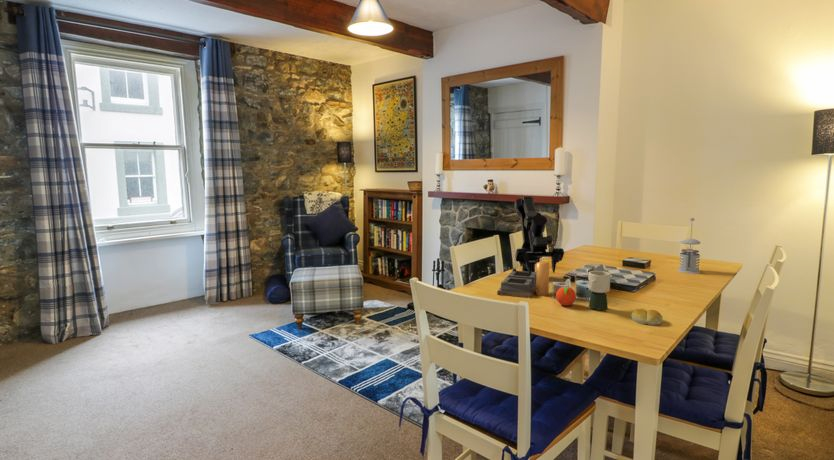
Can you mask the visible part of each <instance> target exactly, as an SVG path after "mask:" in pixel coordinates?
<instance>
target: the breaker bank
mask: <svg viewBox="0 0 834 460" xmlns="http://www.w3.org/2000/svg"><path fill="white" fill-rule="evenodd" d="M499 287H500V288H499V289H498V290H497V293H496V294H497V296H498V295H499V296H507V297H520V298H530V299H531V298H532V296H533V295H534V293H535V292H536V271H535V272H531V273H529V272H528V271H522V270H517V268H512V270H511V271H510V273H509V274H508V275H507V276H506V277H505V278H504V279H501V282H500V286H499Z"/></svg>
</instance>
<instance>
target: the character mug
mask: <svg viewBox="0 0 834 460" xmlns="http://www.w3.org/2000/svg"><path fill="white" fill-rule="evenodd" d="M587 279H588V285H587V288H588V290H589V291H591V293H590V297H589V302H588V303H589V304H588V308H590V309H595V310H596V311H598V310H607V309H608V308H609V306H608V305H609V304H608V297H607V293H609V292H610V290H611V273H610V272H608V271H605V270H604V271H590V272H589V274H588V277H587Z"/></svg>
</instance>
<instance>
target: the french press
mask: <svg viewBox="0 0 834 460" xmlns="http://www.w3.org/2000/svg"><path fill="white" fill-rule="evenodd" d="M689 221H691V222H693V221H695V218H694V217H690V218H689ZM690 228H691V229H690V235H692V233H693V232H692V231H693V224H691V227H690ZM680 243H681V244H682V245H683V244H685V245H689V246H690V247H687V249H686V248H685V249H683V248H682V249H681V252H680V253H679V256H680V257H679V267H678V268H677V269H676V271H677V272H679V273H683V274H692V275H693V274H695V275H696V274H701V273H702V272H701V270H700V267H699V266H700V259H701V258H700V257H701V255H700V253H699V252H700V251H699V250H698V249H697V250H696V249H694V248H693V247H694V246H693V245H701V244H702V242H701V241H700V240H698V239H695V238H692V237H690V238H685V239H682V240H680Z"/></svg>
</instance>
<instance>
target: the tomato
mask: <svg viewBox="0 0 834 460" xmlns="http://www.w3.org/2000/svg"><path fill="white" fill-rule="evenodd" d="M576 298H577V294H576V291H575V290H574V289H573V288H572V287H570V286H567V285H566V286H562V287H559V289H558V290H557V291H556V294H555V299H556V301H557V303H559V304H560V305H562V306H564V307H566V306H567V307H569V306H571V305H573V304H574V303H575V301H576Z"/></svg>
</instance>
